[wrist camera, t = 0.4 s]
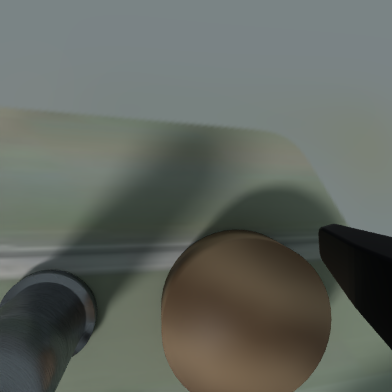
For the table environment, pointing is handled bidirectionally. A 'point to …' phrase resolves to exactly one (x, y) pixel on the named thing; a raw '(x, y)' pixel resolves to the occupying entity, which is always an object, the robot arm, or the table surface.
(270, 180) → the table surface
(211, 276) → the stand
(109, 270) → the table surface
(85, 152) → the table surface
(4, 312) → the grey metal cylinder
